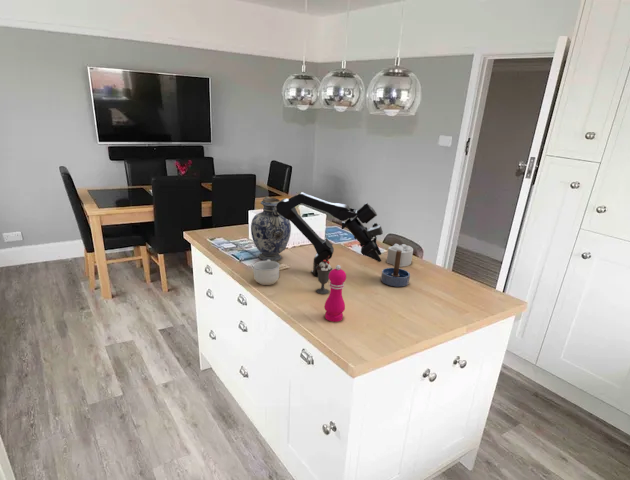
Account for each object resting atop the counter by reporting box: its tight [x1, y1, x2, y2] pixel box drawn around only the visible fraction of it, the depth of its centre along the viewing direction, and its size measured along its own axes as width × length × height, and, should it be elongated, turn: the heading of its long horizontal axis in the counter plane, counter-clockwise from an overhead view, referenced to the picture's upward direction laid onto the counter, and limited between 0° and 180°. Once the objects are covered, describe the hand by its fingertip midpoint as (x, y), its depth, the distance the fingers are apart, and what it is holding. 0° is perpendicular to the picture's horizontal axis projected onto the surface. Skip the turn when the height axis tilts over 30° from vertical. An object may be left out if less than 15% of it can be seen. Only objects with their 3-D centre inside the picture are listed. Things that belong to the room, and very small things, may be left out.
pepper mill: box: [324, 264, 347, 323], centre depth 144 cm, size 7×7×20 cm
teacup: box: [252, 260, 280, 286], centre depth 173 cm, size 14×11×8 cm
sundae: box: [316, 256, 333, 295], centre depth 166 cm, size 7×7×15 cm
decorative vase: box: [250, 195, 292, 262], centre depth 196 cm, size 21×19×28 cm
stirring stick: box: [391, 250, 402, 277], centre depth 181 cm, size 4×4×14 cm
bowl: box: [380, 267, 411, 288], centre depth 183 cm, size 12×12×4 cm
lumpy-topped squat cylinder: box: [386, 243, 414, 268], centre depth 207 cm, size 10×13×9 cm
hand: (380, 257), depth 180 cm, fingers open, 9 cm apart
